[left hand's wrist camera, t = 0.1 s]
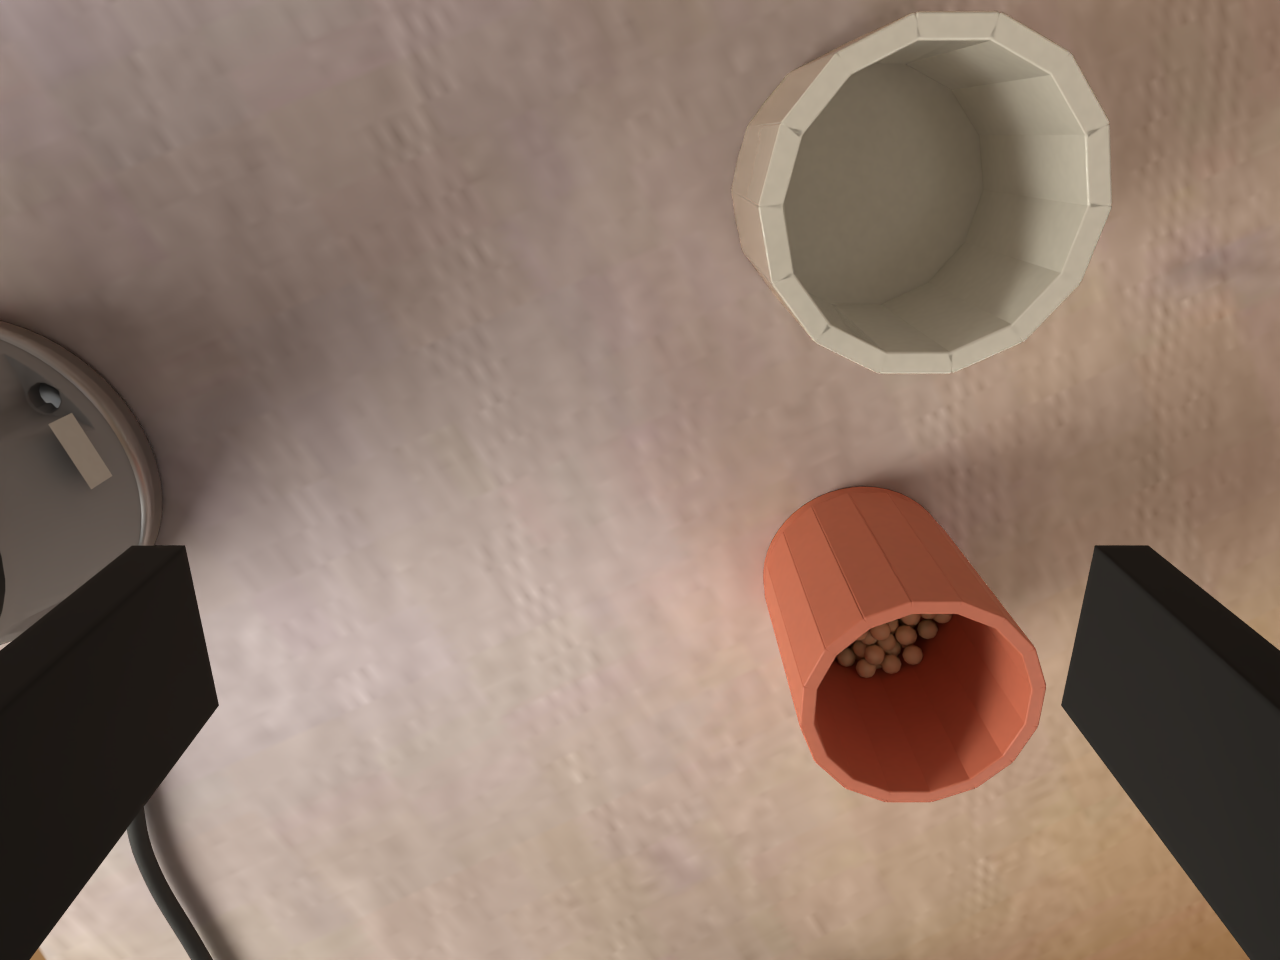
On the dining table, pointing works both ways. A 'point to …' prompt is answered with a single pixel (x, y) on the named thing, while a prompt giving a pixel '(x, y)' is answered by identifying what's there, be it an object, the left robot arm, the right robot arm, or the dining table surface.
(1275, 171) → the dining table surface
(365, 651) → the dining table surface
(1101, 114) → the tub
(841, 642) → the terracotta flower pot
